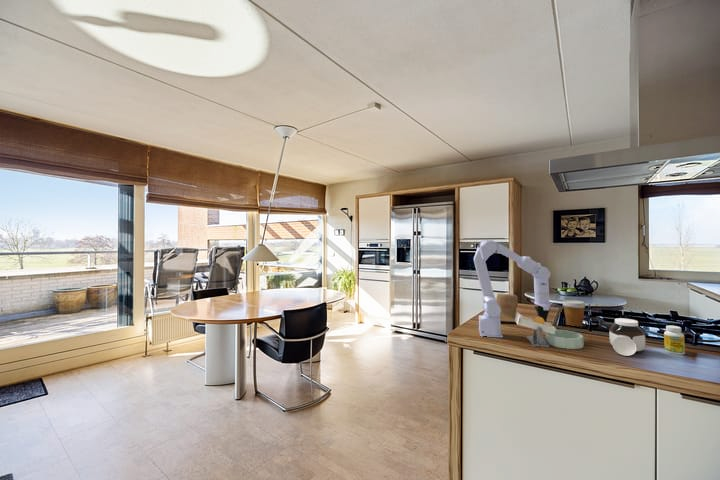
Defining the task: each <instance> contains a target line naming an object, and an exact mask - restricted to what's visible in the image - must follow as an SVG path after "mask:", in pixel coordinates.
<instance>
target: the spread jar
mask: <svg viewBox="0 0 720 480" xmlns="http://www.w3.org/2000/svg"><path fill="white" fill-rule="evenodd" d="M608 331H609V333H608V334H609V338H608V339H609V343H610V345H611V346H612V348H613V350H614V351H615V352H616V353H617V354H619V355H620V356H624V357H627V356H628V357H629V356H630V357H631V356H632V355H637V354H641V353H643V351H644V350H645V349H646V335H645V332H644V331H643V329H641V328H640V327H639V321H638V320H636V319H632V318H631V319H630V318H624V317H623V318H622V317H619V318H615V319H614V324H613V325H611V326H610V328H609V330H608Z"/></svg>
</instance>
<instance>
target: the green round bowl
mask: <svg viewBox="0 0 720 480" xmlns="http://www.w3.org/2000/svg"><path fill="white" fill-rule="evenodd" d="M545 341H546V342H547V343H548V344H549V345H550V346H553V347H555V348H559V349H560V348H561V349H565V348H566V349H567V350H577V349H578V350H579V349H582V348H583V347H584V346H585V345H584V344H585V343H584V342H585V341H584V336H583V334H582V333H579V332H576V331H573V330H567V329H556V330H555V334H551V333H547V332H545ZM566 349H565V350H566Z"/></svg>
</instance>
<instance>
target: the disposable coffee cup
mask: <svg viewBox="0 0 720 480" xmlns="http://www.w3.org/2000/svg"><path fill="white" fill-rule="evenodd" d="M562 301H563V302H562V304H561V305H562V307H563V312H564V316H565V321H566V326H567V325H571V326H582V327H583V324H584V314H585V307H586V304H585V301H582V300H576V299H566V300H564V299H563V300H562Z"/></svg>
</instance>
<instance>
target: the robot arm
mask: <svg viewBox="0 0 720 480" xmlns="http://www.w3.org/2000/svg"><path fill="white" fill-rule="evenodd" d="M476 248H477V249H476V251H475V254H474V256H473V263H474V267H475V270H476V271H475V272H476V275H477V278H478V282H479V286H480V291H481V293H482V300H483V301H482V308H483V311H484V312H483V314H482V315H478V331H479V335H480V337H483V336H487V337H488V338H501V339H502V338H504V336H503V333H502V330H501V329H502V327H501V326H502V325H501V323H502V322H500V313H501V308H500V306H499V305H498V304H497V301H496V298H497V297H496V296H495V294H494V290H493V287H492V282H491V278H490V274H489V270H488V267H487V263H486V261H487V260H488V259H489V258H490V256H492V255H494V254H501V255H502V256H505V257H506V258H509V259H510V260H512V261H514V262H515V263H516V264H517V267H518V268H520V269H522V270H523V271H525V272H527V273H528V274H529V275H532V277H533V289H534V290H533V291H534V302H533V303H534V305H535V306H534V309H535V311H536V313H537V317H542V318H543V319H544V321H545V322H547V319H548V315H549V313H550V311H551V308H550V306H551V305H554V304H553V302H551V301H550V283H549V278H550V277H551V272H550V270H549V268H548V267H546V266H542V263H540V262H536V261H534V260H533V259H532V257H531V256H526V255H523V256H520V255H519V254H518V253H515V251H513V250H511V249H509V247H506V246H505V245H503V244H501V243H499V242H496V241H494V240H492V239H489V240H488V239H485V240H482V241H481V242H480V243H479V244H477V247H476ZM487 337H486V338H487Z"/></svg>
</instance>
